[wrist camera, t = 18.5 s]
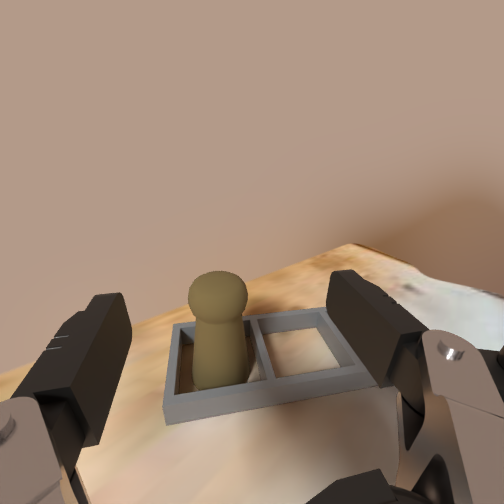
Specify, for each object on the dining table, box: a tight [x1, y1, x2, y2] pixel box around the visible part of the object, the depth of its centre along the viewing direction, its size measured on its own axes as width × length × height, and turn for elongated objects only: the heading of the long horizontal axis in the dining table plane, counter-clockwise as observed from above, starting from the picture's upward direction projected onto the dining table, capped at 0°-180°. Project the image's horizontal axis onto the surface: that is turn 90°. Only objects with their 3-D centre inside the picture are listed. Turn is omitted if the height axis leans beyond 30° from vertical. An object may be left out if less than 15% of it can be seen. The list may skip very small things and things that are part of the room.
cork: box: [188, 271, 250, 391], centre depth 23 cm, size 6×6×11 cm
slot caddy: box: [162, 307, 379, 426], centre depth 26 cm, size 27×10×2 cm, turn 101°
